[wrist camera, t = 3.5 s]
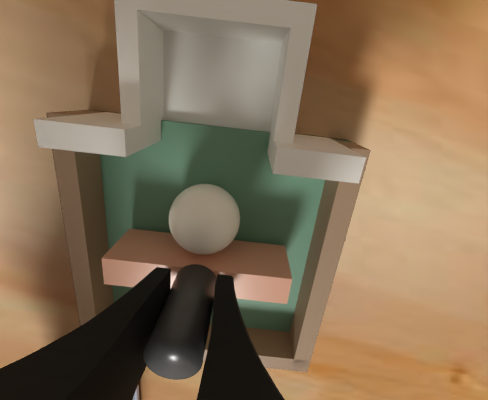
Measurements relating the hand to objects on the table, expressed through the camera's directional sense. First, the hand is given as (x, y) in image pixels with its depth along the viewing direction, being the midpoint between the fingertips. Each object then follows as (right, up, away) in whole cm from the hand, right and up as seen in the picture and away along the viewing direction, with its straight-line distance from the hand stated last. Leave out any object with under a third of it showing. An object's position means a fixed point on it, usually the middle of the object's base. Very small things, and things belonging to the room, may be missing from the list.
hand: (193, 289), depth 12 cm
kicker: (0, +1, +4) cm, 4 cm away
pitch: (0, +4, +4) cm, 6 cm away
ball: (0, +3, +2) cm, 3 cm away
